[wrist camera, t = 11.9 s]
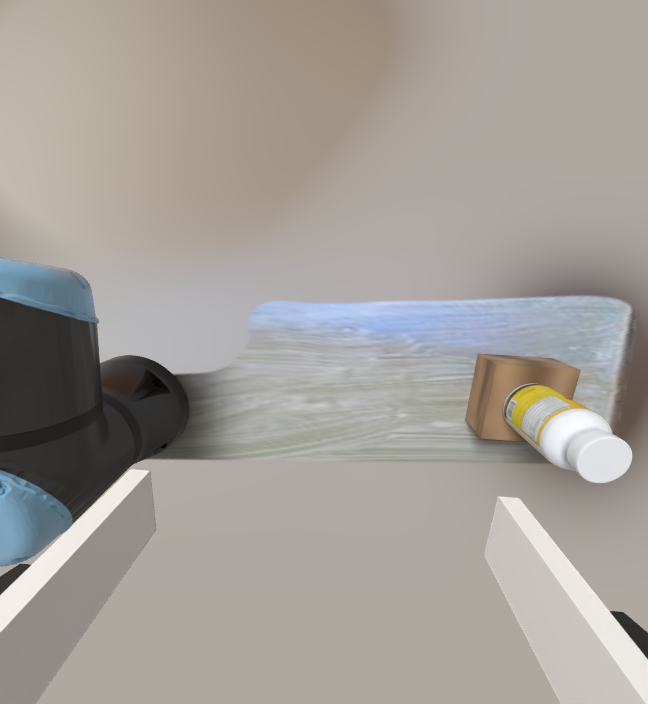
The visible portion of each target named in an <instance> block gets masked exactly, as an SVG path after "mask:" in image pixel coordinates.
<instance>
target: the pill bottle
mask: <svg viewBox="0 0 648 704" xmlns="http://www.w3.org/2000/svg"><path fill="white" fill-rule="evenodd" d="M503 414H504V417H505V420H506V421H507V423H508V424H509V425H510V426H511V427H512V428H513V429H514V430H515V431H516V432H517V433H518V434H520V435H521V436H522V437H523V438H524V439H525V440H526V441H527V442H528V443H529V444H530V445H532V446H533V447H534V448H535V449H536V450H537V451H538V452H539V453H540V454H541V455H543V456H544V457H545V458H546V459H547V460H548V461H549V462H551V463H552V464H554V465H555V466H558V467H560V468H563V469H567V470H574V471H575V472H576V473H578V474H579V475H580V476H581V477H583V478H584V479H586V480H588V481H590V482H594V483H606V482H610V481H612V480H615V479H617V478H618V477H620V476H621V475H623V474H624V473H625V472H626V471H627V469H628V468H629V466H630V464H631V460H632V451H631V449H630V447H629V446H628V444H627V443H626V442H625V441H623V440H622V439H620V438H618V437H617V436H615V435H613V434H612V431H611V428H610V426H609V424H608V423H607V422H606V421H605V420H604V419H603V418H602V417H601V416H600V415H598V414H596V413H595V412H593V411H591V410H589V409H588V408H586V407H584V406H582V405H580V404H578V403H577V402H575V401H573V400H571V399H569V398H567V397H566V396H564V395H562V394H560V393H558V392H557V391H555V390H553V389H551V388H549V387H547V386H545V385H542V384H537V383H530V384H525V385H522V386H520V387H518V388H516V389H515V390H513V391H512V392H511V393H510V394H509V395H508V397H507V398H506V400H505V403H504V407H503Z"/></svg>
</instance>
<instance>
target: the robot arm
mask: <svg viewBox="0 0 648 704" xmlns="http://www.w3.org/2000/svg"><path fill="white" fill-rule="evenodd" d="M97 323H99V320H98V318H97V317H96V315H95V310H94V303H93V296H92V290H91V287H90V284H89V283H88V281H87V280H86V279H85V278H84V277H83V276H82V275H80V274H79V273H77V272H74V271H72V270H68V269H64V268H58V267H54V266H48V265H42V264H37V263H31V262H25V261H19V260H12V259H6V258H0V566H8V565H13V564H17V563H20V562H23V561H25V560H27V559H29V558H31V557H32V556H35V555H36V554H37V553H39V552H40V551H41V550H42V549H44V547H46V546H47V545H48V544H49V543H50V542H51V541H53V540H54V539H55V538H56V537H57V536H58V535H59V534H62V533H63V532H65V531H66V532H65V533H64V534H63V535H62V536H61V537H60V538H59V539H58V540H57V541H56V542H55V543H54V544H53V545H52V546H51V547H50V548H49V549H48V550H46V552H44V553H43V554H42V555H41V556H40V557H39V558H38V559H37V560H36V561H35V562H34V563H33V564H32V565H28V564H19V565H18V566H16V567H15V568H13V569H11V570H10V571H8V572H7V573H5V574H4V575H2V576H1V577H0V704H36V702H37V701H38V700H39V698H40V697H41V695H42V694H43V692H44V691H45V689H46V688H47V687H48V685H49V684H50V682H51V681H52V679H53V678H54V676H55V675H56V674H57V672H58V671H59V669H60V668H61V666H62V665H63V663H64V662H65V661H66V659H67V658H68V656H69V655H70V653H71V652H72V651H73V649H74V648H75V646H76V645H77V643H78V642H79V640H80V639H81V637H82V636H83V635H84V633H85V632H86V630H87V629H88V627H89V626H90V624H91V623H92V622H93V620H94V619H95V617H96V616H97V614H98V613H99V611H100V610H101V609H102V607H103V606H104V604H105V603H106V601H107V600H108V598H109V597H110V596H111V594H112V593H113V591H114V589H115V588H116V587H117V585H118V584H119V583H120V581H121V580H122V578H123V577H124V575H125V574H126V572H127V571H128V570H129V568H130V567H131V565H132V564H133V562H134V561H135V559H136V558H137V557H138V555H139V554H140V552H141V551H142V549H143V548H144V546H145V545H146V544H147V542H148V541H149V539H150V538H151V536H152V535H153V533H154V532H155V531H156V524H155V514H154V504H153V493H152V484H151V474H150V470H135V469H130V470H129V471H128V472H127V473H126V474H125V475H124V476H123V477H122V478H121V479H120V480H119V481H118V482H117V483H116V484H115V485H114V486H113V487H111V488H110V489H109V490H108V491H107V492H106V494H104V495H103V496H102V497H101V498H100V499H99V500H98V501H97V502H96V503H95V504H94V505H93V506H92V507H91V508H90V509H89V510H88V511H87V512H86V513H85V514H84V515H83V516H82V517H81V518H79V517H80V516H81V515H82V514H83V513H84V512H85V511H86V510H87V509H88V508H89V507H90V506H91V505H92V504H93V503H94V502H95V501H96V500H97V499H98V498H99V497H100V496H101V495H102V494H103V493H104V492H105V491H106V490H107V489H108V488H109V487H110V486H111V485H112V484H113V483H114V482H115V481H116V480H117V479H118V478H119V477H120V476H121V475H122V474H123V473H124V472H125V471H126V470H127V469H128V468H129V467H130V466H132V465H133V464H135V463H137V462H139V461H142V460H144V459H146V458H149V457H151V456H153V455H155V454H158V453H160V452H162V451H163V450H165V449H166V448H167V447H169V446H170V445H171V444H172V443H173V442H174V441H175V440H176V439H177V438H178V437H179V436H180V434H181V433H182V431H183V430H184V428H185V426H186V423H187V419H188V402H187V398H186V395H185V392H184V390H183V388H182V386H181V385H180V383H179V382H178V380H177V379H176V378H175V376H174V375H173V374H172V373H171V372H169V371H168V370H167V369H166V368H165V367H163V366H161V365H160V364H158V363H157V362H155V361H153V360H150V359H147V358H144V357H140V356H131V355H126V356H119V357H115V358H112V359H110V360H107V361H105V362H102V363H100V361H99V347H98V334H97ZM78 518H79V519H78ZM77 519H78V521H76V520H77ZM75 521H76V522H75ZM74 522H75V523H74ZM73 523H74V525H72V524H73ZM484 556H485V558H486V560H487V562H488V564H489V566H490V568H491V570H492V572H493V574H494V576H495V578H496V580H497V582H498V584H499V586H500V587H501V589H502V591H503V593H504V595H505V597H506V599H507V601H508V603H509V605H510V607H511V609H512V611H513V613H514V615H515V617H516V618H517V620H518V622H519V624H520V626H521V628H522V630H523V632H524V634H525V636H526V638H527V640H528V642H529V644H530V646H531V647H532V650H533V651H534V653H535V655H536V657H537V659H538V661H539V663H540V665H541V667H542V669H543V671H544V673H545V675H546V677H547V679H548V680H549V682H550V684H551V686H552V688H553V690H554V692H555V694H556V696H557V698H558V700H559V702H560V704H648V633H647V632H646V631H645V630H643V628H641V627H640V626H639V625H638V624H637V623H635V622H634V621H633V620H632V619H631V618H629V617H628V616H627V615H626V614H625V613H623V612H615V611H609V610H608V609H607V608H606V607H605V605H604V604H603V603H602V602H601V601H600V599H599V598H598V596H597V595H596V594H595V593H594V591H593V590H592V589H591V588H590V587H589V585H588V584H587V583H586V581H585V580H584V579H583V578H582V576H581V575H580V574H579V573H578V571H577V570H576V569H575V568H574V567H573V565H572V564H571V563H570V561H569V560H568V559H567V558H566V556H565V555H564V554H563V553H562V551H561V550H560V549H559V548H558V546H557V545H556V544H555V543H554V541H553V540H552V539H551V538H550V536H549V535H548V534H547V533H546V531H545V530H544V529H543V528H542V527H541V525H540V524H539V523H538V521H537V520H536V519H535V518H534V516H533V515H532V514H531V513H530V511H529V510H528V509H527V507H526V506H525V505H524V504H523V502H522V501H521V500H520V499H519V498H511V497H498V499H497V503H496V507H495V511H494V516H493V520H492V524H491V528H490V533H489V536H488V541H487V545H486V549H485V553H484Z"/></svg>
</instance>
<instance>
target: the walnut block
mask: <svg viewBox="0 0 648 704" xmlns="http://www.w3.org/2000/svg"><path fill="white" fill-rule="evenodd" d="M580 371H581V370H579V369H577V368H574V367H572V366H570V365H567V364H565V363H562V362H560V361H558V360H555V359H553V358H537V357H522V356H506V355H491V354H478V357H477V362H476V367H475V372H474V377H473V383H472V388H471V393H470V398H469V403H468V409H467V414H466V419H465V421H466V422H467V423H468V424H469V425H470V427H471V428H472V429H473V430H474V431H475V432H476V434H477V435H478V436H479V437H480V438H481V439H494V440H508V441H522V442H527V441H526V440H525V439H524V438H523V437H522V436H521V435H520V434H518V433H517V432H516V431H515V430H514V429H513V428H512V427H511V426H510V425H509V424H508V423H507V421H506V420H505V417H504V414H503V407H504V403H505V400H506V398H507V397H508V395H509V394H510V393H511V392H512V391H513V390H515V389H516V388H518V387H520V386H522V385H525V384H530V383H537V384H542V385H545V386H547V387H549V388H551V389H553V390H555V391H557V392H558V393H560V394H562V395H564V396H566V397H567V398H569V399H571V400H572V399H573V395H574V392H575V388H576V385H577V381H578V378H579V374H580Z"/></svg>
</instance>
